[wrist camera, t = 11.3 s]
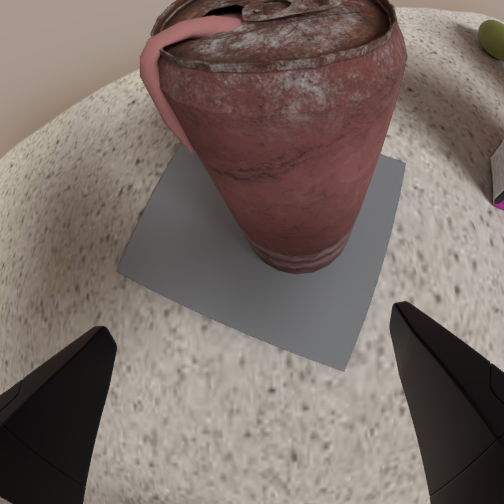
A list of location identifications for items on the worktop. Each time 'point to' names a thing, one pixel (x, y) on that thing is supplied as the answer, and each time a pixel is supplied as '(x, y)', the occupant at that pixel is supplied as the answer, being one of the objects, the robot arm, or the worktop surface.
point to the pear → (492, 38)
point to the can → (281, 111)
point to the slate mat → (259, 264)
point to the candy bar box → (498, 176)
